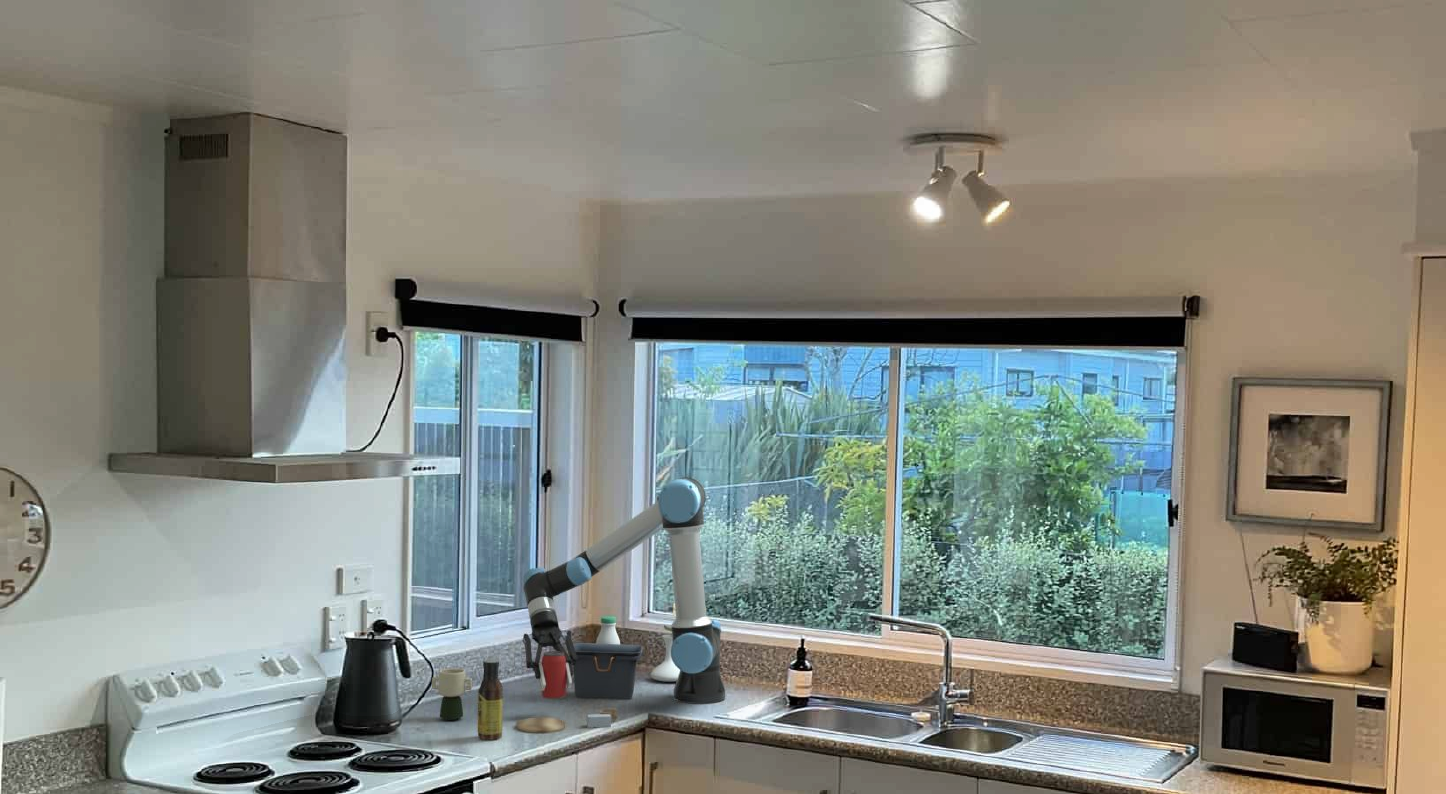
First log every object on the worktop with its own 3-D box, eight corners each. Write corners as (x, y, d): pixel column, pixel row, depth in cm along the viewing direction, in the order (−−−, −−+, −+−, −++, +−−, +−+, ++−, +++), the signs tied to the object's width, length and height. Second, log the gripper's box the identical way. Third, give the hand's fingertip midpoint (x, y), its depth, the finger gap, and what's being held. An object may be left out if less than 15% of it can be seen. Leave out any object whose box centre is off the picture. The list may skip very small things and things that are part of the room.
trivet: (559, 719, 370) (559, 716, 370) (570, 731, 358) (570, 727, 358) (511, 722, 366) (511, 719, 366) (521, 734, 354) (521, 730, 354)
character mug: (474, 716, 372) (475, 668, 372) (468, 722, 365) (469, 673, 365) (434, 715, 373) (435, 667, 373) (427, 721, 366) (428, 672, 366)
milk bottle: (594, 679, 423) (595, 614, 423) (619, 679, 424) (620, 614, 424) (594, 685, 416) (596, 618, 416) (620, 684, 417) (621, 619, 417)
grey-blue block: (609, 725, 367) (609, 713, 367) (610, 727, 364) (611, 716, 364) (586, 725, 365) (587, 714, 365) (588, 728, 362) (588, 717, 362)
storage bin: (642, 691, 408) (643, 643, 408) (640, 703, 393) (641, 653, 393) (570, 690, 408) (571, 642, 408) (565, 702, 392) (566, 651, 392)
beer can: (561, 699, 371) (561, 655, 371) (538, 698, 372) (538, 654, 372) (569, 694, 377) (569, 650, 377) (546, 693, 378) (546, 650, 378)
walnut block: (606, 718, 374) (606, 707, 374) (616, 719, 373) (617, 708, 373) (599, 723, 368) (600, 712, 368) (610, 724, 367) (610, 713, 367)
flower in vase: (657, 685, 417) (659, 602, 417) (645, 677, 428) (647, 597, 428) (697, 682, 422) (699, 601, 422) (685, 675, 433) (686, 596, 433)
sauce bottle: (480, 734, 353) (481, 657, 353) (504, 735, 353) (505, 657, 353) (474, 740, 346) (476, 662, 346) (499, 741, 346) (501, 662, 346)
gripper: (574, 623, 392) (589, 691, 377) (506, 627, 386) (519, 697, 370) (579, 607, 387) (594, 675, 372) (510, 611, 381) (523, 681, 365)
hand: (556, 686), depth 371 cm, fingers closed on beer can, 6 cm apart
